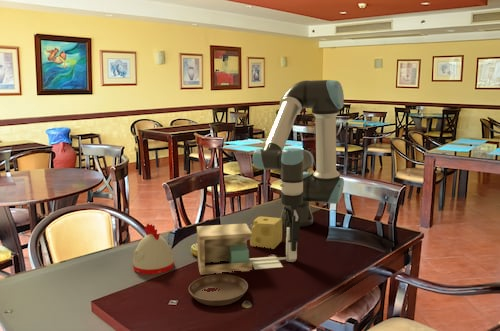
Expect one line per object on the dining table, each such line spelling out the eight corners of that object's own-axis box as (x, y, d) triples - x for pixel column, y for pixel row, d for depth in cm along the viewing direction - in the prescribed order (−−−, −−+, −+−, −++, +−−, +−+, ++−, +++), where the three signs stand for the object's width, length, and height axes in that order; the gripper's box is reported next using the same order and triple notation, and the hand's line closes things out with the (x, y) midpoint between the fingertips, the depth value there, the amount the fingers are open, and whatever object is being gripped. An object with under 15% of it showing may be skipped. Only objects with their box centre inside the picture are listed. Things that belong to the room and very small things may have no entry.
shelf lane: (246, 258, 166) (245, 223, 164) (252, 270, 154) (252, 233, 152) (197, 261, 162) (196, 226, 160) (200, 274, 151) (199, 236, 149)
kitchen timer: (159, 256, 169) (157, 217, 166) (181, 266, 159) (180, 224, 156) (125, 266, 159) (123, 225, 156) (147, 277, 149) (145, 233, 147)
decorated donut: (223, 256, 168) (223, 246, 168) (195, 260, 164) (195, 250, 164) (214, 247, 178) (214, 238, 177) (188, 251, 174) (187, 241, 173)
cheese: (249, 246, 179) (249, 221, 177) (259, 238, 188) (259, 214, 187) (274, 249, 175) (274, 224, 173) (283, 241, 185) (283, 217, 183)
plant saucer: (199, 314, 125) (198, 304, 125) (182, 289, 141) (181, 279, 141) (257, 302, 132) (257, 292, 132) (234, 279, 148) (234, 270, 148)
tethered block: (293, 256, 166) (293, 225, 164) (298, 262, 160) (298, 230, 158) (229, 261, 162) (228, 229, 160) (231, 268, 156) (231, 234, 154)
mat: (275, 256, 167) (275, 256, 167) (282, 267, 157) (282, 266, 157) (249, 258, 165) (249, 258, 165) (254, 269, 155) (254, 268, 155)
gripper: (276, 188, 166) (275, 249, 170) (287, 198, 150) (287, 266, 154) (295, 187, 167) (295, 248, 171) (309, 197, 151) (308, 264, 155)
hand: (291, 256), depth 163 cm, fingers closed on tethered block, 3 cm apart
